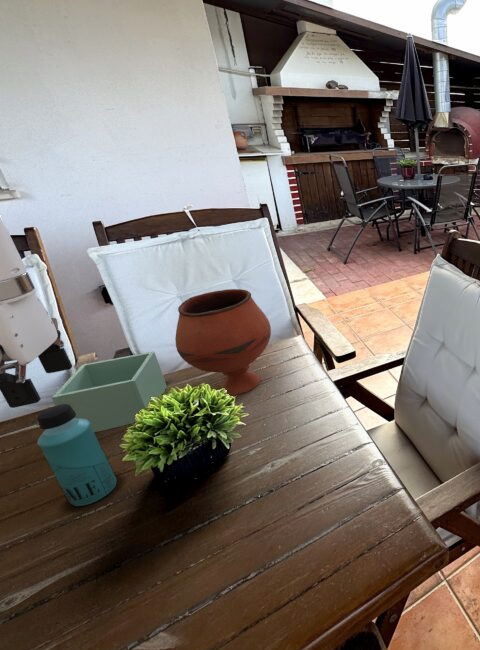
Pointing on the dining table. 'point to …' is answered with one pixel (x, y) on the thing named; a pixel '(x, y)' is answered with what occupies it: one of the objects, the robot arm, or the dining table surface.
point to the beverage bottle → (75, 456)
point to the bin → (112, 390)
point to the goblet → (223, 336)
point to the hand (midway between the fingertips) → (44, 386)
